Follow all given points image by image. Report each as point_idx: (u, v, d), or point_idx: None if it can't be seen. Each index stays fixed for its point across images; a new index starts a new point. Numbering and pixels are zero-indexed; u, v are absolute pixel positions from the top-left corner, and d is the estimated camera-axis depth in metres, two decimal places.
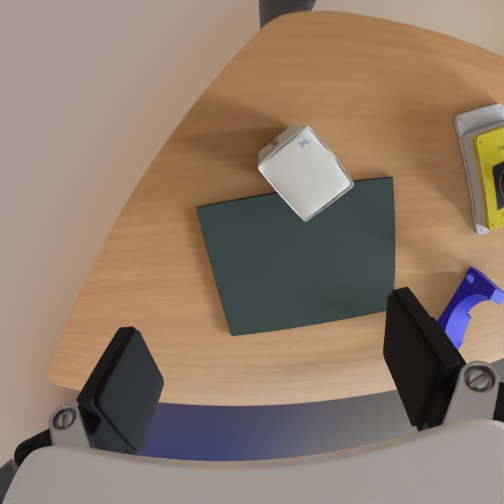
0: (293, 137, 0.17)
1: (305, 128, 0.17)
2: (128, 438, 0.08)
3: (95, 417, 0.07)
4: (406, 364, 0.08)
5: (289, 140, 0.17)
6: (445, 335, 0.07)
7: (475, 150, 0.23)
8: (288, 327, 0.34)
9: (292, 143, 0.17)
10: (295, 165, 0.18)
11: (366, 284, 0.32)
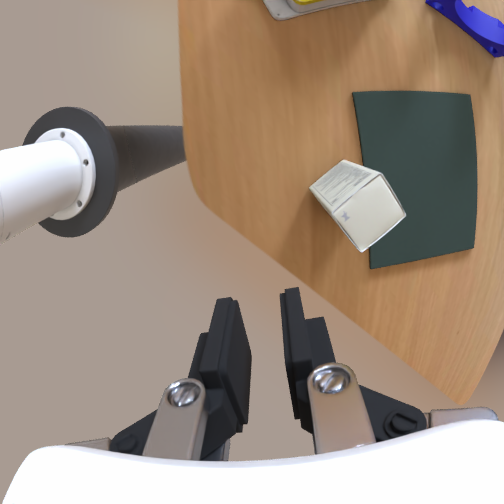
0: (340, 224, 0.21)
1: (333, 215, 0.21)
2: None
3: (216, 388, 0.08)
4: None
5: (342, 228, 0.21)
6: (326, 335, 0.09)
7: (312, 2, 0.20)
8: (476, 198, 0.29)
9: (345, 225, 0.21)
10: (362, 223, 0.21)
11: (449, 122, 0.26)
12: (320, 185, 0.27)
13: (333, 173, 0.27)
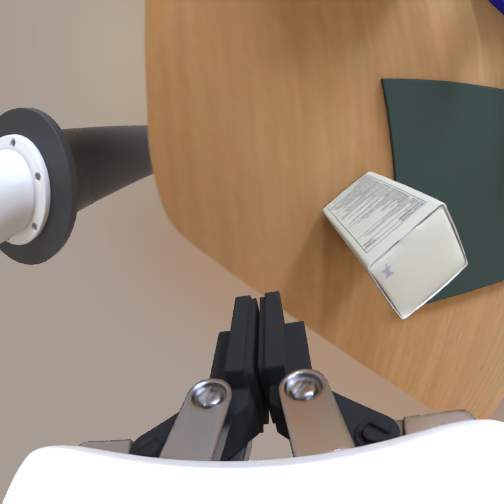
0: (378, 284, 0.13)
1: (370, 270, 0.13)
2: (262, 410, 0.08)
3: (241, 388, 0.07)
4: None
5: (381, 288, 0.13)
6: (305, 340, 0.09)
7: None
8: None
9: (385, 285, 0.13)
10: (410, 280, 0.13)
11: (495, 124, 0.17)
12: (339, 209, 0.19)
13: (358, 191, 0.19)
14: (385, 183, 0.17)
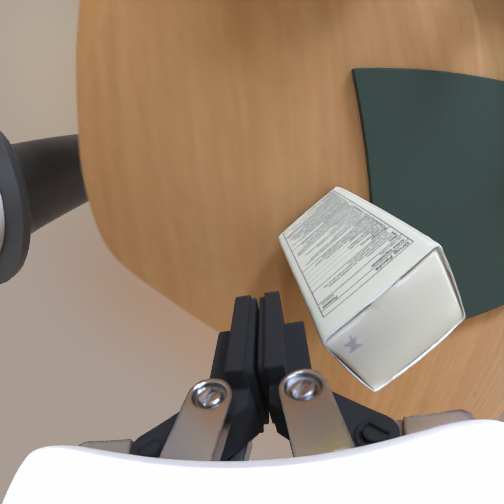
0: (340, 359, 0.09)
1: (326, 346, 0.09)
2: (262, 410, 0.08)
3: (241, 388, 0.07)
4: None
5: (344, 363, 0.09)
6: (304, 340, 0.09)
7: None
8: None
9: (350, 360, 0.09)
10: (386, 349, 0.09)
11: (498, 124, 0.14)
12: (296, 240, 0.16)
13: (321, 215, 0.15)
14: (356, 205, 0.13)
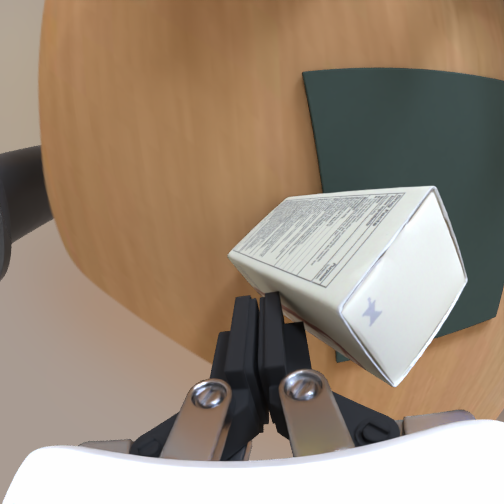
0: (358, 338, 0.07)
1: (343, 315, 0.07)
2: (262, 410, 0.08)
3: (241, 388, 0.07)
4: None
5: (363, 345, 0.07)
6: (305, 340, 0.09)
7: None
8: None
9: (370, 338, 0.07)
10: (405, 320, 0.07)
11: (478, 125, 0.14)
12: (253, 247, 0.14)
13: (278, 219, 0.14)
14: (319, 198, 0.13)
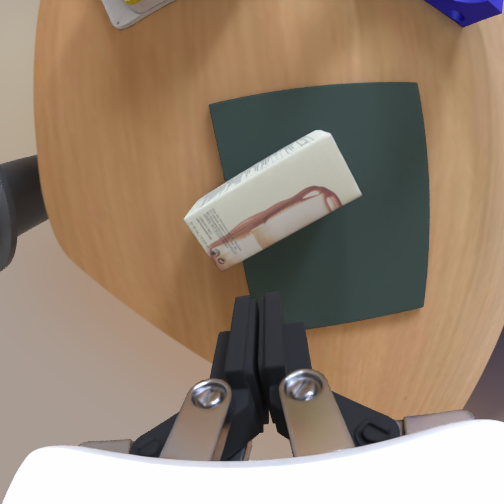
0: (339, 151, 0.15)
1: None
2: (262, 410, 0.08)
3: (241, 388, 0.07)
4: None
5: (342, 156, 0.15)
6: (305, 340, 0.09)
7: None
8: (427, 240, 0.22)
9: None
10: None
11: (376, 128, 0.19)
12: (217, 194, 0.18)
13: (217, 189, 0.19)
14: (242, 172, 0.20)
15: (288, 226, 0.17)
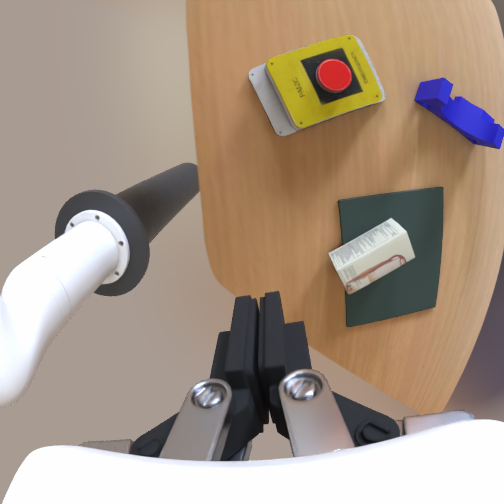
0: (408, 238, 0.32)
1: (406, 232, 0.32)
2: (262, 410, 0.08)
3: (241, 388, 0.07)
4: None
5: (409, 241, 0.32)
6: (305, 340, 0.09)
7: (309, 125, 0.30)
8: (439, 270, 0.39)
9: None
10: None
11: (419, 215, 0.36)
12: (351, 256, 0.35)
13: (345, 251, 0.36)
14: (354, 240, 0.37)
15: (383, 272, 0.34)
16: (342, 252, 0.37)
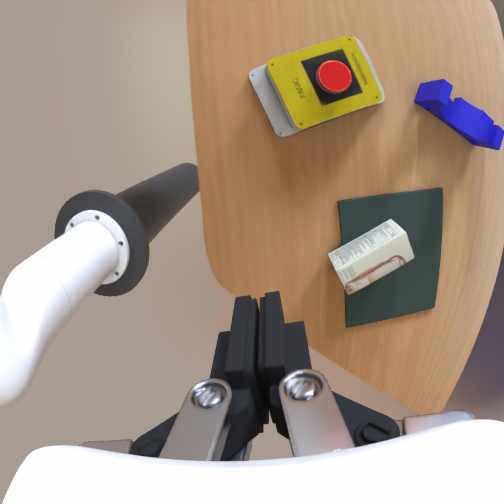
0: None
1: (406, 233, 0.32)
2: (262, 410, 0.08)
3: (241, 388, 0.07)
4: None
5: None
6: (305, 340, 0.09)
7: (309, 126, 0.31)
8: (438, 271, 0.39)
9: None
10: None
11: (419, 215, 0.36)
12: (351, 257, 0.35)
13: (345, 252, 0.36)
14: (354, 240, 0.37)
15: (382, 273, 0.34)
16: (342, 253, 0.37)
